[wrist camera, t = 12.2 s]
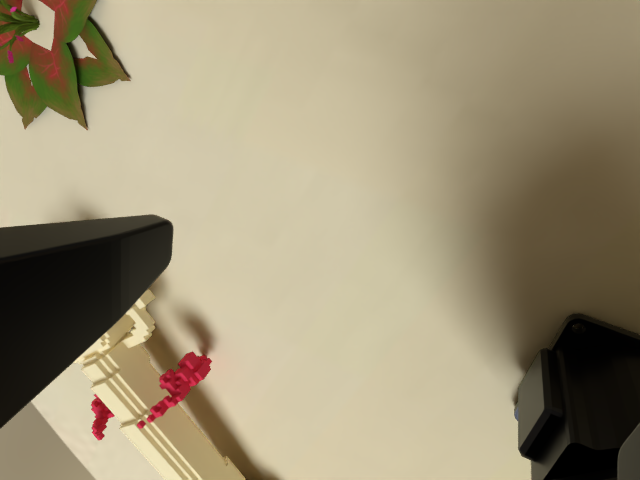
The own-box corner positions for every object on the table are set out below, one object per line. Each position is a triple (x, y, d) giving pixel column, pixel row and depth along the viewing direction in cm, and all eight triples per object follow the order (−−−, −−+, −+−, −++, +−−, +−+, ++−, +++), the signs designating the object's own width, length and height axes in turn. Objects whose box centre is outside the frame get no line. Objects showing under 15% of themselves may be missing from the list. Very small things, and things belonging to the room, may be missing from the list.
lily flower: (-73, -48, 26) (-176, -61, 22) (62, -169, 21) (-43, -213, 17) (32, 157, 30) (-41, 177, 26) (172, 99, 24) (105, 113, 20)
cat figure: (344, 504, 33) (119, 211, 27) (301, 650, 26) (-20, 295, 20) (245, 514, 38) (36, 269, 32) (185, 640, 31) (-99, 353, 25)
